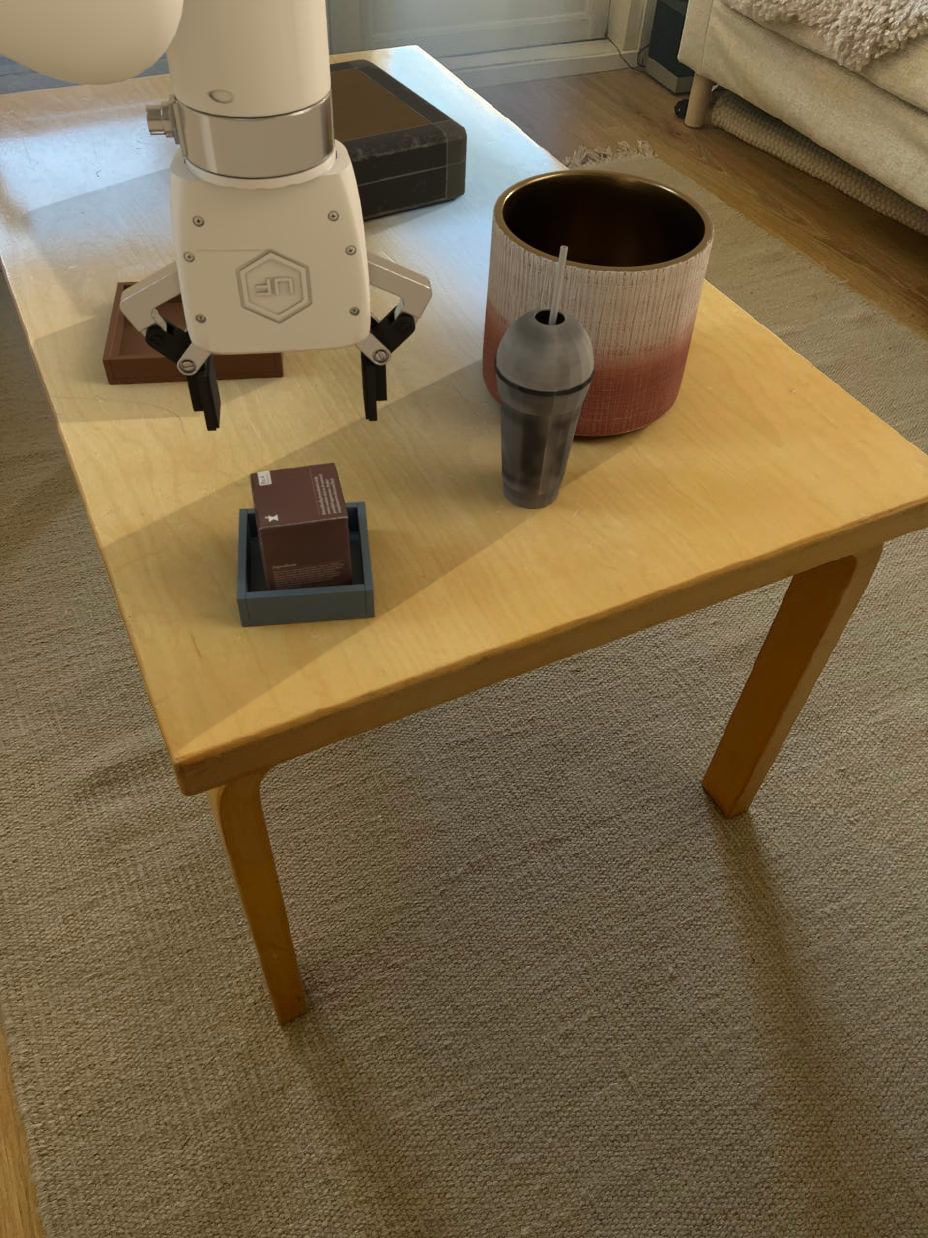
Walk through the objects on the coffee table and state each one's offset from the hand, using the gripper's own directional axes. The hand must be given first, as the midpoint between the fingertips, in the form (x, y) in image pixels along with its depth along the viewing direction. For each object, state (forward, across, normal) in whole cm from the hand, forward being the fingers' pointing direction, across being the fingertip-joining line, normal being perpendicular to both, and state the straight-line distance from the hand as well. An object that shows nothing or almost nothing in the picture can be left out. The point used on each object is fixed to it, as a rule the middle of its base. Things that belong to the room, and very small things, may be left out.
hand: (293, 412), depth 62 cm
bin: (+14, 0, 0) cm, 14 cm away
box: (+14, 0, 0) cm, 14 cm away
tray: (+14, -9, +32) cm, 36 cm away
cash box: (+15, +6, +67) cm, 69 cm away
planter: (+15, +25, +22) cm, 36 cm away
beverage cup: (+15, +18, +8) cm, 24 cm away
